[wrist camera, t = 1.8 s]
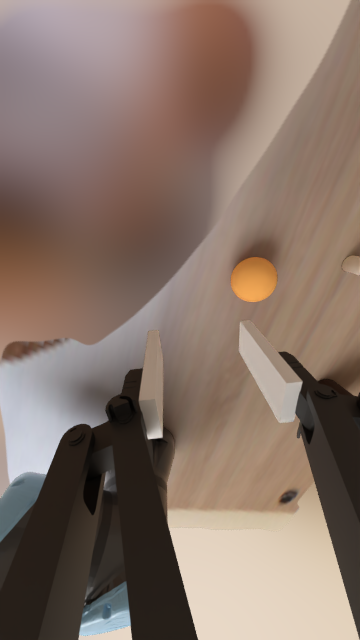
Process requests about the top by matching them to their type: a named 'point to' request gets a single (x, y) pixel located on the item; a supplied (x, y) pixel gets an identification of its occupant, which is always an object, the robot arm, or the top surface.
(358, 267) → the pin
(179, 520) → the top surface
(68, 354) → the top surface
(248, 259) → the ball
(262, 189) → the top surface
